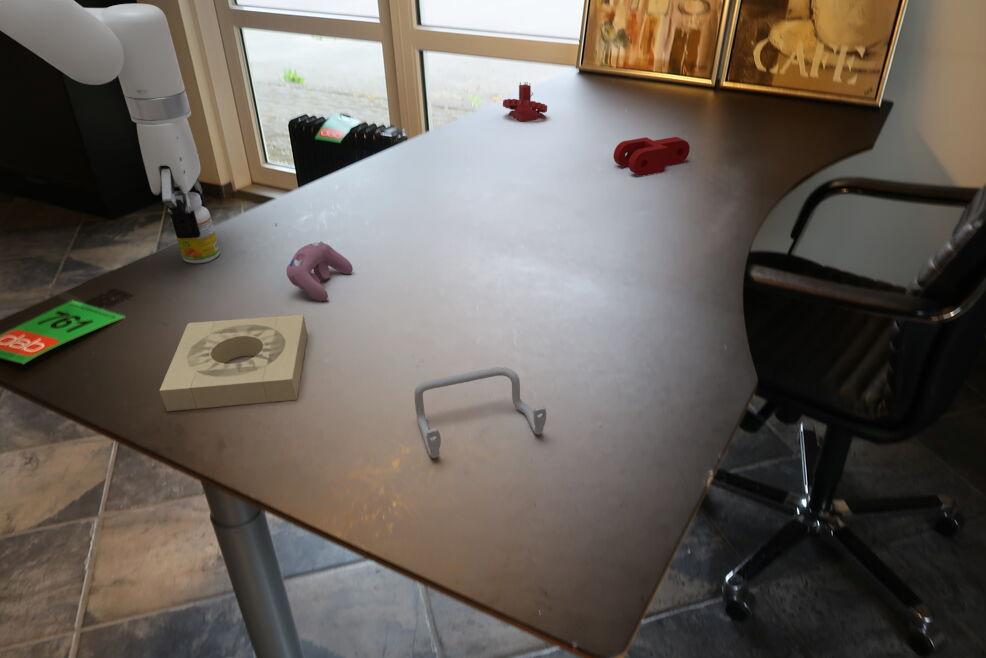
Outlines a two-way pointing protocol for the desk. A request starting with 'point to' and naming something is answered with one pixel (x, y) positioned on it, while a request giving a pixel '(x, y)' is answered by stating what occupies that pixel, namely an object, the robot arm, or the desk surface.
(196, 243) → the supplement bottle
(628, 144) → the mechanical linkage
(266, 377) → the socket pad
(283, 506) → the desk surface
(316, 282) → the video game controller
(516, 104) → the red cross-shaped piece
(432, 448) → the bracket
